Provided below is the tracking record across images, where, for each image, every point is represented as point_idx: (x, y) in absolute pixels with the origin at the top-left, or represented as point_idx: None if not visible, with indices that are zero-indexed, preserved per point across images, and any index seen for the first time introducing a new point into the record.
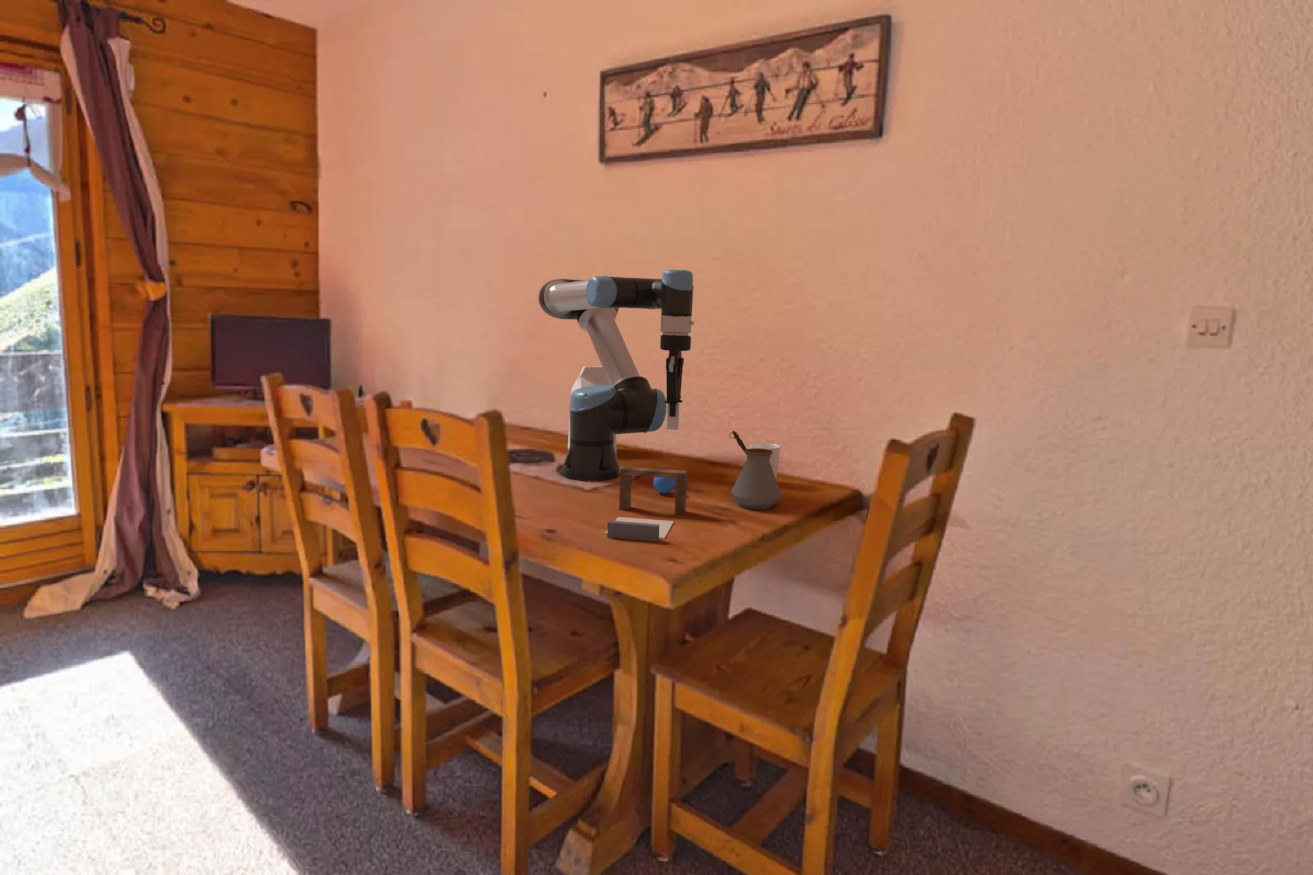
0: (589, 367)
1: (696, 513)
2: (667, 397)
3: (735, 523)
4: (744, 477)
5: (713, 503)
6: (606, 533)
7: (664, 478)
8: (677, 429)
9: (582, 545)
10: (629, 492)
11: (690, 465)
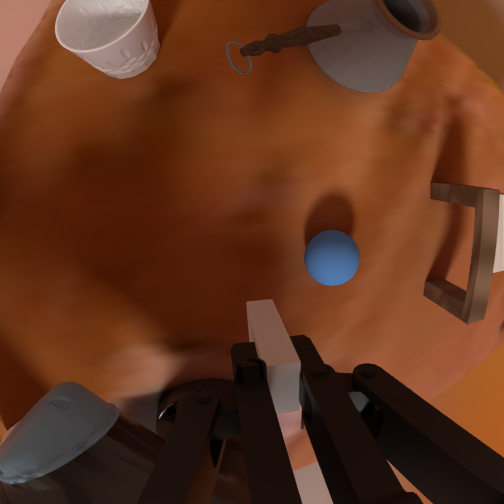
0: None
1: (436, 162)
2: (380, 415)
3: (459, 98)
4: (408, 59)
5: (368, 133)
6: None
7: (358, 257)
8: (271, 299)
9: None
10: (453, 288)
11: (21, 261)
